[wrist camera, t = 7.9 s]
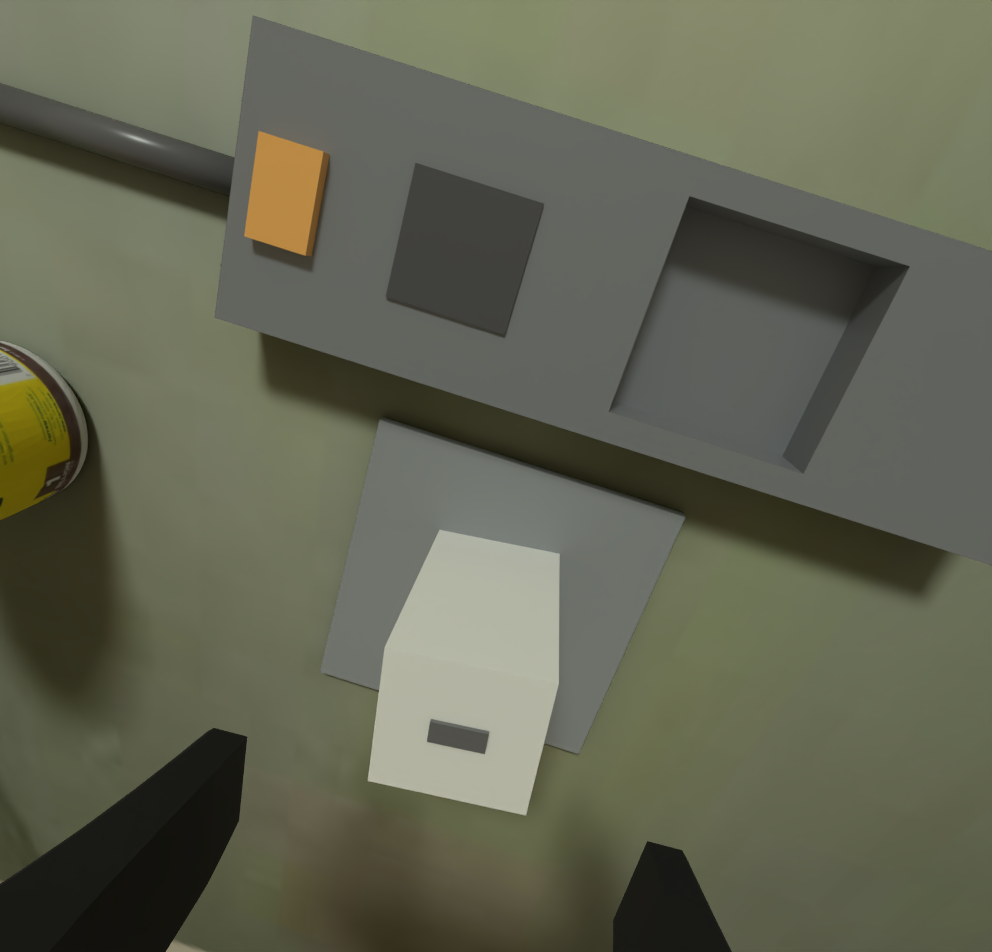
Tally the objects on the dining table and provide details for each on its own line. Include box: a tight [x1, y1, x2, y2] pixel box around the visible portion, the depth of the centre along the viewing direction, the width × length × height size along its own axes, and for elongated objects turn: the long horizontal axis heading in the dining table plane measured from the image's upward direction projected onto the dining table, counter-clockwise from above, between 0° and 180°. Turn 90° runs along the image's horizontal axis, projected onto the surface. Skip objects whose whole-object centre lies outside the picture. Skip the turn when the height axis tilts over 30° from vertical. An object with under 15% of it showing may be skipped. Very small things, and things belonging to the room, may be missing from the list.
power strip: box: [0, 16, 992, 565], centre depth 16 cm, size 31×7×3 cm, turn 73°
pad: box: [320, 417, 685, 754], centre depth 20 cm, size 10×10×1 cm
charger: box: [368, 530, 560, 815], centre depth 17 cm, size 4×4×7 cm
